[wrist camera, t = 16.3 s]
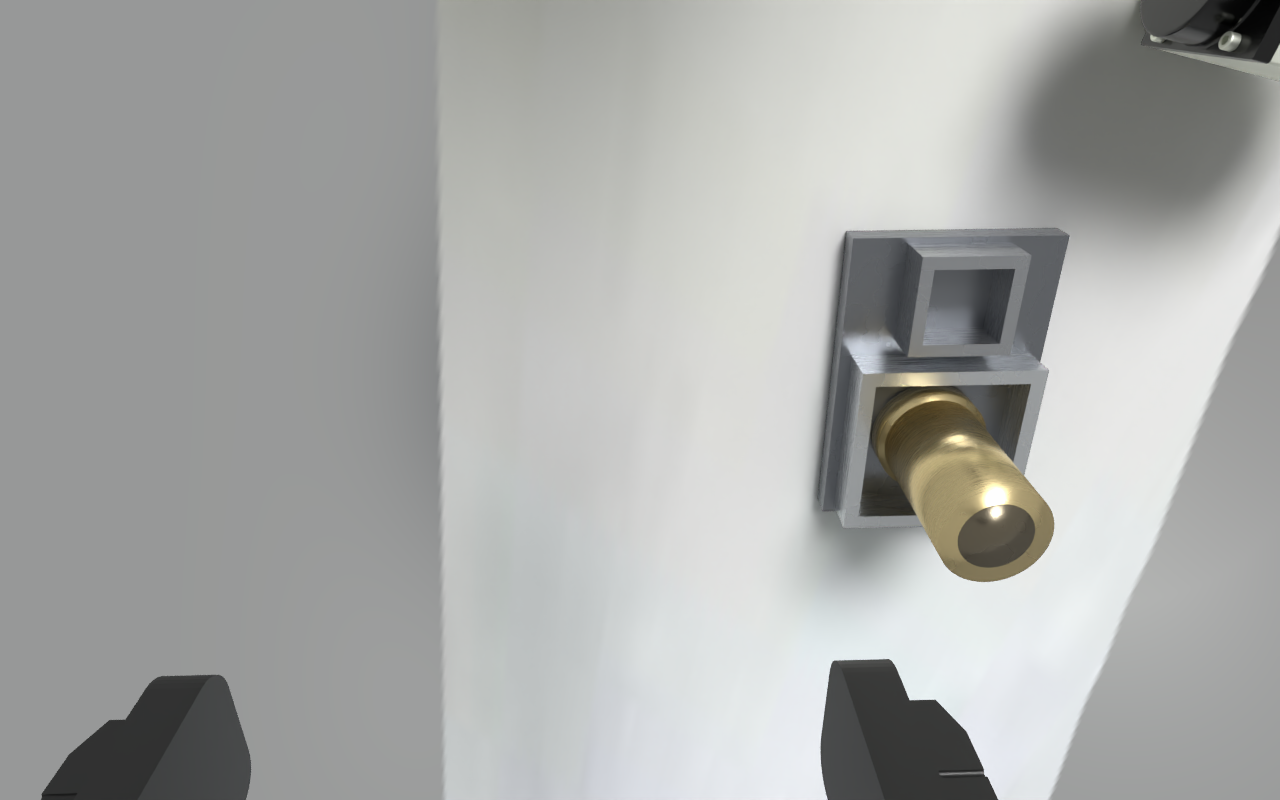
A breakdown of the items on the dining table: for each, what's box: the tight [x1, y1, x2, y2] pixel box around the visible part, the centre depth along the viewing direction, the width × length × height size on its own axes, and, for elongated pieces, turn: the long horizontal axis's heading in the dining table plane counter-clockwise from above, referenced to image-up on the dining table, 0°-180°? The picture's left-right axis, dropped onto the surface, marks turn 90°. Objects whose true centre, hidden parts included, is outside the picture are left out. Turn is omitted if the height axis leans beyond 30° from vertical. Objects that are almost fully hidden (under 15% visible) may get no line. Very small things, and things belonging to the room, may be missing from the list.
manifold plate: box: [818, 228, 1069, 528], centre depth 41 cm, size 15×10×3 cm, turn 0°
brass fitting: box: [872, 386, 1054, 582], centre depth 39 cm, size 5×5×9 cm
